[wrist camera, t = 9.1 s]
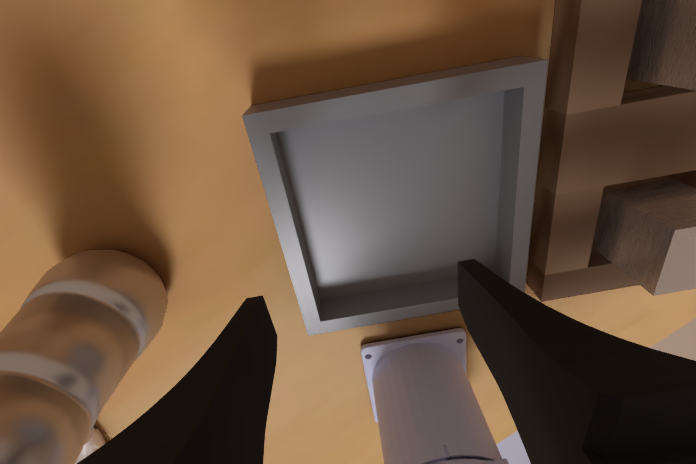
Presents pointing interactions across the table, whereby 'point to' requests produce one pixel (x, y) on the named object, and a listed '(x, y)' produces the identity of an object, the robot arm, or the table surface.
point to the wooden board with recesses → (598, 143)
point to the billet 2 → (650, 232)
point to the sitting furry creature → (91, 444)
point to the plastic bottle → (73, 352)
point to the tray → (402, 188)
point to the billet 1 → (665, 44)
